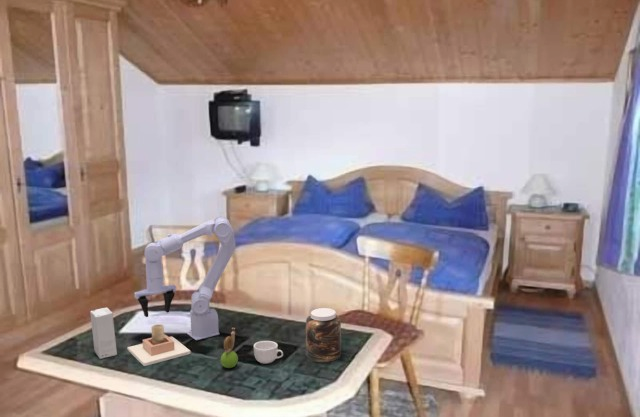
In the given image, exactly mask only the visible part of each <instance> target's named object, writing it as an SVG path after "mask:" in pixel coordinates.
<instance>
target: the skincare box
mask: <svg viewBox="0 0 640 417" xmlns="http://www.w3.org/2000/svg"><path fill="white" fill-rule="evenodd" d="M113 313H114V312H112V311H111V310H110V309H109V307H101V308H97V309H94V310H90V320H91V330H92V331H91V332H92V339H93V348H94V349H93V350H94V353H95V354H96V356H98V358H99V359H100V360H101V359H104V358H109V357H115V356H117V355H118V353H117V341H116V334H115V333H116V332H115V325H114V324H115V323H114V314H113Z"/></svg>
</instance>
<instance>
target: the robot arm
mask: <svg viewBox="0 0 640 417" xmlns="http://www.w3.org/2000/svg"><path fill="white" fill-rule="evenodd" d="M214 235H215V236H216V238H217V239H218V240H219V243H220V247H219V250H218V251H217V253H216V255H215V257H214V259H213V262H212V263H211V265H210V267H209V269H208V271H207V273H206V275H205V277H204V279H203V281H202V283H201V284H200V285H199V286H198V288H197V289H196V290H195V291H194V292H193V293H192V294H191V296H190V302H191V306H190V308H191V309H190V310H189V313H190V331H188V332H187V333H186V334H187V335H188V336H189V337H191V338H192V339H194V340H195V341H199V340H203V339H207V338H211V337H214V336H219V335H220V332H219V328H220V327H219V316H218V312H217V310H216V309H215V308H210V302H211V299H212V297H213V293H214V290H215V288H216V286H217V284H218V283H219V281H220V279H221V277H222V275H223V272H224V271H225V269H226V267H227V266H228V264H229V262H230V259H231V258H232V255H233V254H234V252H235V249H236V247H237V246H236V239H235V231H234V229H233V226H232V225H231V222H230V220H229V219H228V218H227V217H225V216H218V217H216V218H212V219H209V220H207V221H205V222H203V223H201V224H198V225H197V226H195V227H193V228H191V229H189V230H187V231H185V232H183V233H181V234H178V233H168V234H167V236H166V237H164V238H161V239H155V240H154V242H150V243H148V244H147V245H146V246H145V248H144V252H143V253H144V257H145V277H146V281H145V282H146V288H144V289H142V290H138V291H135V292H134V293H133V295H134V299H136V300H137V301H138V303H139V304H140V307H141V308H142V312H143V316H144V317H145V318H149V299H148V298H147V297H150V296H155V295H160V294H161V295H162V294H163V300H164V311H165V313H170V308H171V304H172V301H173V300H174V298H175V292H177V286H176V285H175V284H172V285H171V284H170V285H164V271H163V270H164V269H163V268H164V267H163V263H162V262H163V261H162V257H163V256H164V257H165V256H167V255H169V254H172V253H174V252H176V251H178V250H181V249H182V248H183V246H184V244H185V243H187V242H191V241H193V240H196V239H197V238H200V237H202V236H210V237H214Z"/></svg>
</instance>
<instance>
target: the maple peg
mask: <svg viewBox="0 0 640 417" xmlns="http://www.w3.org/2000/svg"><path fill="white" fill-rule="evenodd" d="M164 326H165V325H164V324H155V325H152V326H151V329H150V330H151V338H152V345H157V344H161V343H165V341H164V334H165V327H164Z"/></svg>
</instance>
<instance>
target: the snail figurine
mask: <svg viewBox="0 0 640 417" xmlns="http://www.w3.org/2000/svg"><path fill="white" fill-rule="evenodd" d="M231 330H232V331H231V332H230V335H229V336H226V337H225V338H224V339H223V349H224V352H223V353H222V354H221V356H220V363H221V365H222V366H223V367H224V368H226V369H232V368H234V367H236V365H237V364H238V360H239V357H238V354H237V353H236V352H235V351H234V350H233V349H234V345H235V340H236V339H235V338H236V336H235V335H236V331H235V330H236V328H235V327H231Z"/></svg>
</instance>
